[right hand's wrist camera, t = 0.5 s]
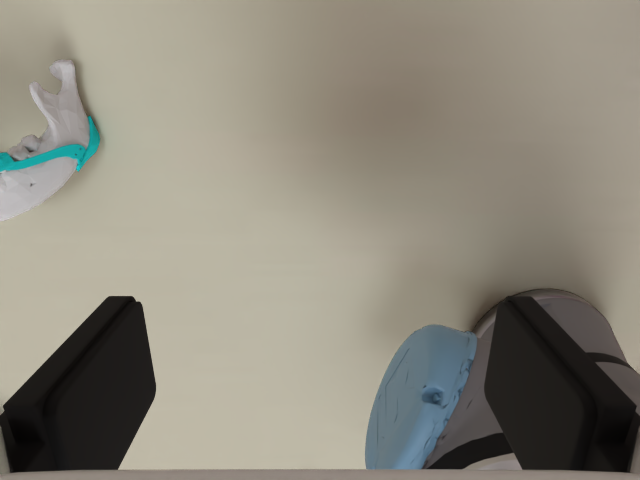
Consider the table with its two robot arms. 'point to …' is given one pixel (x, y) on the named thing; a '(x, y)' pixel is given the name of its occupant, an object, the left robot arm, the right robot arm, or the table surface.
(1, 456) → the right robot arm
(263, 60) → the table surface
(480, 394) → the left robot arm
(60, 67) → the anatomical model
